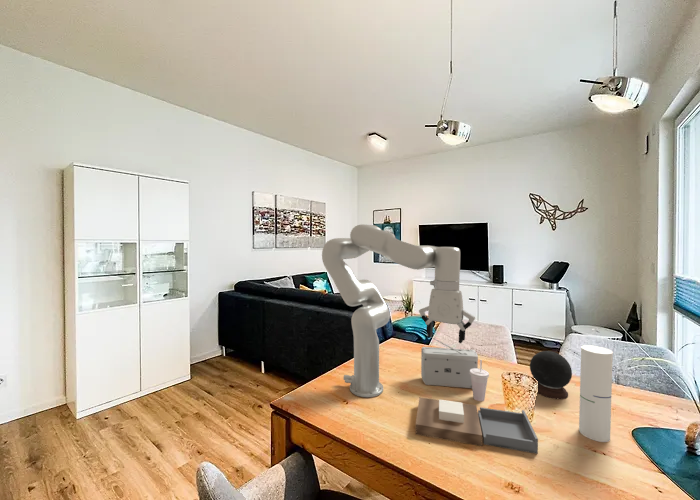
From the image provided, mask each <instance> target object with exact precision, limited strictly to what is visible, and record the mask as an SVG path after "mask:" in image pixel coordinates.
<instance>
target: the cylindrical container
mask: <svg viewBox="0 0 700 500" xmlns="http://www.w3.org/2000/svg"><path fill="white" fill-rule="evenodd" d="M613 354H614V352H613V351H612V350H611V349H609V348H606V347H602V346H597V345H591V344H585V345H581V346H580V375H579V377H580V379H579V380H580V382H579V383H580V384H579V411H578V412H579V415H578V416H579V417H578V431H579V433H580V434H581V435H582V436H584V437H586V438H587V439H590V440H591V441H592V440H593V441H596V442H598V443H599V442H600V443H608V442H610V441H611V429H612V427H611V425H612V419H611V418H612V391H613V390H612V389H613V388H612V386H613V359H614V358H613V357H614V355H613Z"/></svg>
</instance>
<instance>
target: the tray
mask: <svg viewBox="0 0 700 500" xmlns="http://www.w3.org/2000/svg"><path fill="white" fill-rule="evenodd" d="M477 412H478V417H479V421H480V426H481V431H482V444H483V445H484V446H490V447H491V446H492V447H498V448H503V449H509V450H515V451H520V452H526V453H531V454H536V455H537V454H538V453H539V451H538V450H539V449H538V448H539V438H538V436H537V434H536V432H535V430H534V428H533V426H532V424H531V422H530V421H531V420H530V419H529V418H528V416H527V414H526V411H525V410H524V409H522V410H521V412H516V411H508V410H501V409H495V408H487V407H479V409H477Z"/></svg>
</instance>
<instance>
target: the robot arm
mask: <svg viewBox="0 0 700 500" xmlns="http://www.w3.org/2000/svg"><path fill="white" fill-rule="evenodd" d="M367 252H373V253H376V254H379V255H382V256H384V257H385V258H386V259H387V260H389V261H391V262H393V263H395V264H397V265H400V266H403V267H406V268H409V269H411V270H416V271H417V270H424V269H429V268H434V279H433V280H430V281H429V285H431V286H433V288H432V289H431V290H430V295H429V303H428V306H425V307H423V308H420V309H419V310H418V312H419V315H420V317H421V319H422V320H423V322H425V325H426V335H427V334H428V336H427V338H431V337H432V336H433V335H434V324H433V322H437V323H442V324H443V323H444V324H448V325H449V324H450V325H457V326H458V327H459V331H458V343H459V344H462V343H463V342H464V341H465V339H466V330H467V329H468V328H469V327H471V326H472V324H473V322H474V321H475V319H476V317H475V316H474V315H473V314H471V313H469V312H468V311H466V310H465V309H464V302H463V301H464V300H463V299H464V298H463V293H462V291H461V290H460V276H461V275H460V274H461V272H460V271H461V249H460V248H459V247H455V246H435V245H428V244H427V245H415V244H412V243H408V242H405V241H402V240H401V239H400V240H399V239H398V238H396V235H395V234H394V233H392V232H390V231H386V230H384V229H381V228H380V227H378V226H377V225H375V224H362V223H361V224H357V225H354V227H353V228H352V229H351V231H350V234H349V237H336V238H331V239H329V240H328V241H326V242H325V243H324V245H323V247H322V251H321V260H322V263H323V266H324V269H326V271H327V272H328V274H329V276H330V277H331V279H332V280H333V282H334V286H335V287H336V289H337V290H338V292H339V294H340V296H341V298H342V299H343V301H344V304H346V305H347V306H349V307H357V306H361V305H362V306H361V307H358V308H357V309H356V310H355V311H354V312H353V313H352V316H351V318H350V319H351V320H350V321H351V329H352V335H353V374H352V375H349V374H344V375H343V380H344V384H345V383H346V384H350V385H349V391H350V392H351V393H352V395H353V394H354V395H355V396H358V397H362V398H374V397H377V396H379V395H381V394H382V393H383V391H384V386H383V384H382V383H381V382H380V339H379V337H378V334H377V330H378V329H379V328H382V327H384V326H386V325H387V324H388V323H389V321H390V318H391V313H390V309H389V307H388V304H386V302H385V300H384V297H382V295H381V293H380V291H379V290H378V288H377V286H376V284H374V283H373V282H372V281H371V280H368V279H358V278H357V276H356V275H355V273H354V271H353V269H352V268H351V266H349V265H348V264H347V263H346V261H344V260H350V259H356V258H358V257H360V256H362V255H364V254H366V253H367ZM426 312H427V314H428V315H426ZM464 317H465V318H467V319H468V320H467V322H466V323H465V322H464V321H463V320H464Z"/></svg>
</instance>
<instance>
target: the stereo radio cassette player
mask: <svg viewBox="0 0 700 500" xmlns="http://www.w3.org/2000/svg"><path fill="white" fill-rule="evenodd" d="M426 336H427V337H428V334H427V333H426ZM430 338H432V339H433V340H435V341H436V342H438V343H440V344H441V345H444V346H445V347H434V346H433V347H432V346H431V347H430V346H422V347H421V353H420V354H421V356H420V358H421V365H420V369H421V371H420V372H421V373H420V374H421V379H422V382H423V383H424V384H425V385H426V386H439V387H440V386H441V387H451V388H463V389H465V388H466V389H472V382H471V375H470V370H471V369H473V368H478V367H479V366H478V364H479V363H478V362H479V361H478V360H479V356H478V353H477V351H476V350H475V349H468V348H467V349H464V348H453V347H451V346H450V345H447V344H446V343H444V342H442V341H440V340H438V339H436V338H435V337H432V336H431V337H430ZM478 369H479V368H478Z"/></svg>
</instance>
